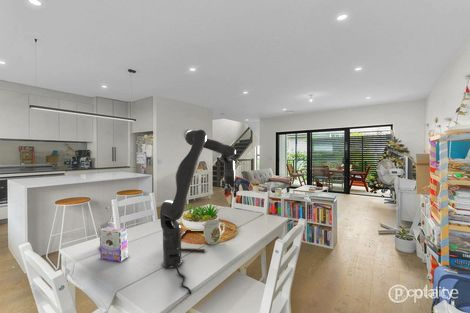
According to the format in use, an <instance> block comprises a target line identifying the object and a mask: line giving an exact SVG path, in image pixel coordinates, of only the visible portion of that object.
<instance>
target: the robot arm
mask: <svg viewBox="0 0 470 313" xmlns="http://www.w3.org/2000/svg"><path fill="white" fill-rule="evenodd" d="M184 138H185V142H186V143H187V145H189V146H191V147H190V149H189V151H188V153H187V154H186V155H185V156H184V157H183V159H181V161H180V163H179V164H178V167H177V170H176V172H175V188H176V191H175V195H174V199H173V200H171V199H167V200H164V201H163V202H162V204H160V208H159V219H160V227H161V229H162V230H161V231H162V265H163V267H164V268H165V269H171V268H172V269H173V268H175V269H176V272H177V274H178V276H179V277H181V278H182V281H181V287H182V288H183V289H186V290H187V291H188V293H189V295H192V291H191V289H190V288H189V286H187V285H184V283H185V282H186V276H184V275H183V274H182V273H181V272H180V270H179V266H180V265H182V262H183V261H182V260H183V259H182V251H181V248H182V238H181V234H182V226H181V224H180V223H179V222H178V221H179V220H180V219H181V218H182V216H183V214H184V212H185V208H186V203H187V199H188V194H189V191H190V187H191V184H192V181H193V178H194V176H195V171H196V169H197V166H198V162H199V159H200V158H201V157H200V156H201V154H202V152H203V149H207V150H209V151H212V152H215V153H217V154H220V155H221V159H222V162H223V177H224V178H223V180H222V181H221V188H222V189H223V190H224V195H225V196H226V195H228V194H229V190H228V189H230V190H231V191H232V192H233V193H232V194H233V198H237V196H238V195H237V193H238V192H240V190H239V189H240V188H239V183H238V182H237V183H236V182H235V180H236V171H235V161H234V160H233V159H231V158H232V157H235V155H236V153H237V150H236V148H235V147H234V146H232V145H230V144H229V145H228V144H225V143H223V142H221V141H218V140H215V139H211V138H208V137H207V133H206V130H203V129H192V130H191V129H190V130H188V131H187V132H186V133H185V137H184Z"/></svg>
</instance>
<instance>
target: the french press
mask: <svg viewBox="0 0 470 313" xmlns="http://www.w3.org/2000/svg"><path fill="white" fill-rule="evenodd" d="M109 209H110V207H109V206H106V207H105V210H107V216H109ZM115 226H116V223H115V222H114V221H107V222H104V223H102V224H100V227H99V228H98V230H97V232H100V231H99V230H101V229H103V228H106V227H115ZM97 236H98V237H100V233H97Z"/></svg>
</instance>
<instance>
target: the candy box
mask: <svg viewBox="0 0 470 313" xmlns="http://www.w3.org/2000/svg"><path fill="white" fill-rule="evenodd" d="M100 229H101V228H100ZM100 229H99V231H98V232H99V251H100V259H101V260H106V261H112V262H118V263H121V262H123V261H125V260H126V259H128V258H129V243H128V242H129V240H128V228H125V227H124V228H123V227H115V226H112V227H106V228H102V229H101V230H100Z"/></svg>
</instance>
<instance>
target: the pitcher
mask: <svg viewBox="0 0 470 313" xmlns="http://www.w3.org/2000/svg"><path fill="white" fill-rule="evenodd" d="M200 225H201V226H203V227H204V228H203V230H204V233H203V237H204V240H205V242H206V243H207V245H210V246H213V245H217V244H218V243H219V241H220V239H221V236H223V235H224V234H225V231H226V224H225V223H224V222H221V221H220V220H219V219H207V220H205V221H204V222H202V223H200ZM221 226H222V229H221Z"/></svg>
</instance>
